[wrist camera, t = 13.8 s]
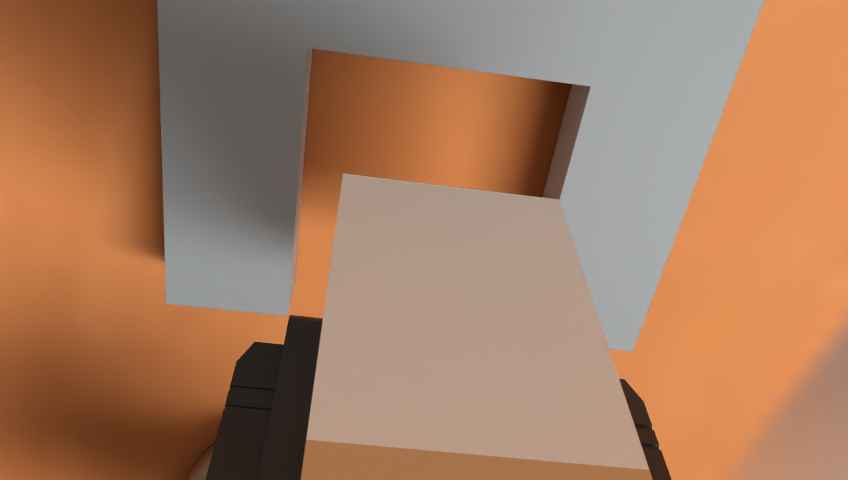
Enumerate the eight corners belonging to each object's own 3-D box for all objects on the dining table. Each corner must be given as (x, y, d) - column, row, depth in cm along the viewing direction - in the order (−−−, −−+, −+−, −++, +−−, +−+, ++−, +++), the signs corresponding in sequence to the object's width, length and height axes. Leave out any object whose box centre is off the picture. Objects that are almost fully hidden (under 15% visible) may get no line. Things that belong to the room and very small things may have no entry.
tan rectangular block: (342, 173, 14) (300, 482, 8) (559, 199, 15) (663, 511, 9) (320, 379, 17) (276, 725, 11) (504, 397, 17) (556, 740, 11)
